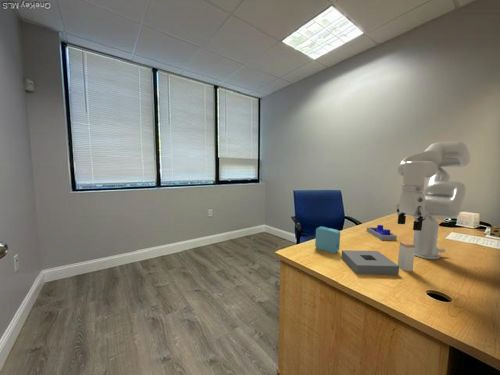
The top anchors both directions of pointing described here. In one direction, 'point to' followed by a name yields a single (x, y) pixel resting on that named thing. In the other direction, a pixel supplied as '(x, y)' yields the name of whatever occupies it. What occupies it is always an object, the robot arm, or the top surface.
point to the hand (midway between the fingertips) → (408, 227)
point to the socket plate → (369, 262)
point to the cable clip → (381, 231)
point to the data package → (327, 239)
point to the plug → (406, 256)
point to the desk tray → (379, 236)
